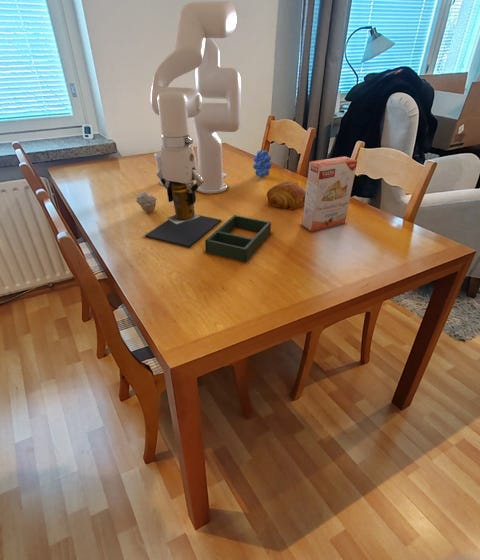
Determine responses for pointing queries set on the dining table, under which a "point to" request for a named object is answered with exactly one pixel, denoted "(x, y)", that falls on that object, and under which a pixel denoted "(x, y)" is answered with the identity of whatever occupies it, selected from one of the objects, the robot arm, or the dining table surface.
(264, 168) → the grapes
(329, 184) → the cracker box
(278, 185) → the croissant
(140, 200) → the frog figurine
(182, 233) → the mat
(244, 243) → the caddy
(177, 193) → the condiment
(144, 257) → the dining table surface
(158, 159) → the cup
